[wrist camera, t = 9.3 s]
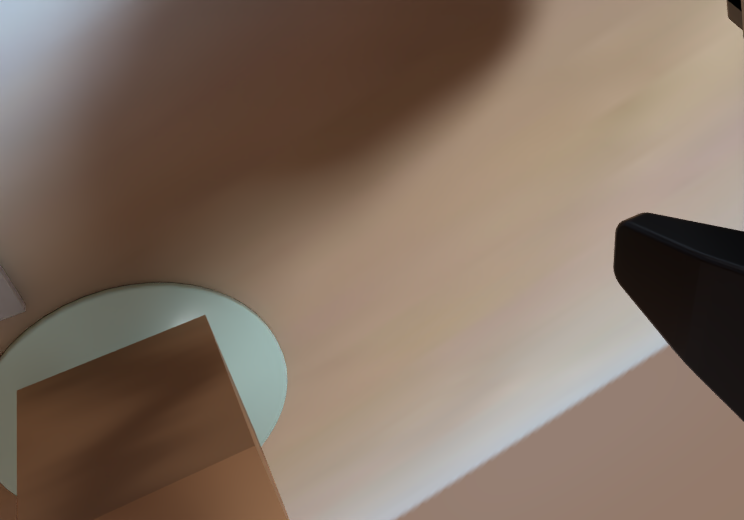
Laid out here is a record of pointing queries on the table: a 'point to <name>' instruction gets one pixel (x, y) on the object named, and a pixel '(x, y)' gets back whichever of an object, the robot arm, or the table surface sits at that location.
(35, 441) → the walnut block
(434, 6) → the table surface
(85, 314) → the pale green disc
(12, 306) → the tile
